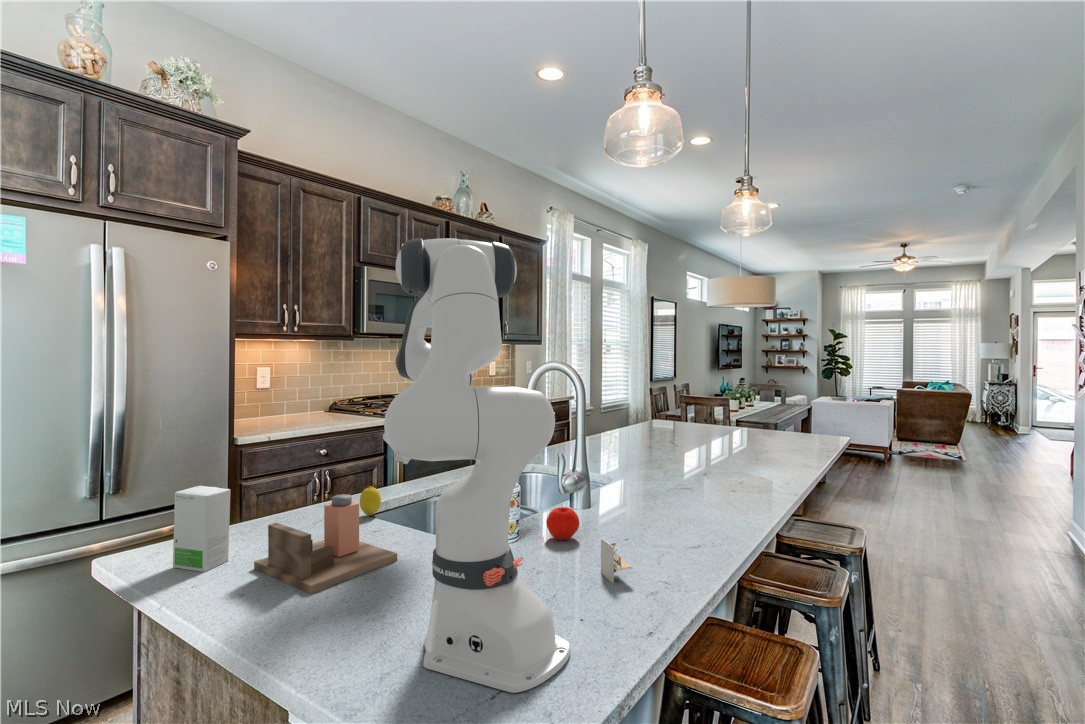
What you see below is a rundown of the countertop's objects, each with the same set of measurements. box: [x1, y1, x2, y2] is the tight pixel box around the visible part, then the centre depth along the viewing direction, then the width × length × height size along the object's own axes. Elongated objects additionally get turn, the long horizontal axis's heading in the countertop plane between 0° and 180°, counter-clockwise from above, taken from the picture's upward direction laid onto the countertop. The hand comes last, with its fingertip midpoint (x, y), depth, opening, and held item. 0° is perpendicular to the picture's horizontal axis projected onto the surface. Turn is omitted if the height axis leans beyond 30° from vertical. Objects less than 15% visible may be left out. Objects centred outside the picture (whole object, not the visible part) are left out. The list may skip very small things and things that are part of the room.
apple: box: [545, 506, 580, 541], centre depth 131 cm, size 8×8×7 cm
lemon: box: [359, 485, 382, 517], centre depth 149 cm, size 6×6×8 cm
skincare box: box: [172, 485, 231, 573], centre depth 114 cm, size 8×7×16 cm
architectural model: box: [600, 537, 633, 584], centre depth 109 cm, size 3×7×7 cm, turn 19°
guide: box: [253, 522, 398, 595], centre depth 115 cm, size 20×20×10 cm
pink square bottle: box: [323, 493, 360, 557], centre depth 118 cm, size 5×5×12 cm
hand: (400, 462), depth 130 cm, fingers closed
